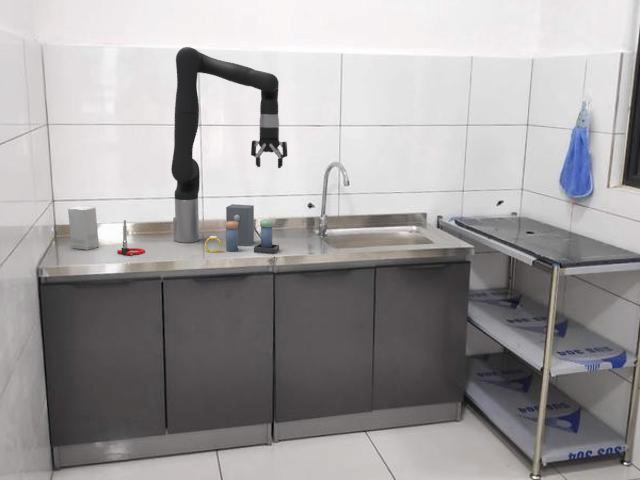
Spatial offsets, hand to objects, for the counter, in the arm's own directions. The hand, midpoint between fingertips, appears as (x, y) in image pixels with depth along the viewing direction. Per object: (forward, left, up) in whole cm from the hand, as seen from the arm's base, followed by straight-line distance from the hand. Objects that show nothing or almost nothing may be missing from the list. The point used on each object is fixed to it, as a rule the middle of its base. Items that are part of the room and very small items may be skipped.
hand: (269, 167), depth 262 cm
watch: (-15, -23, -30) cm, 41 cm away
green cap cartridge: (+4, -16, -29) cm, 34 cm away
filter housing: (-10, -6, -30) cm, 32 cm away
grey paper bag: (-64, -31, -30) cm, 77 cm away
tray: (+4, -16, -30) cm, 35 cm away
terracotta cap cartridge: (-9, -19, -30) cm, 37 cm away
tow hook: (-43, -33, -30) cm, 62 cm away
